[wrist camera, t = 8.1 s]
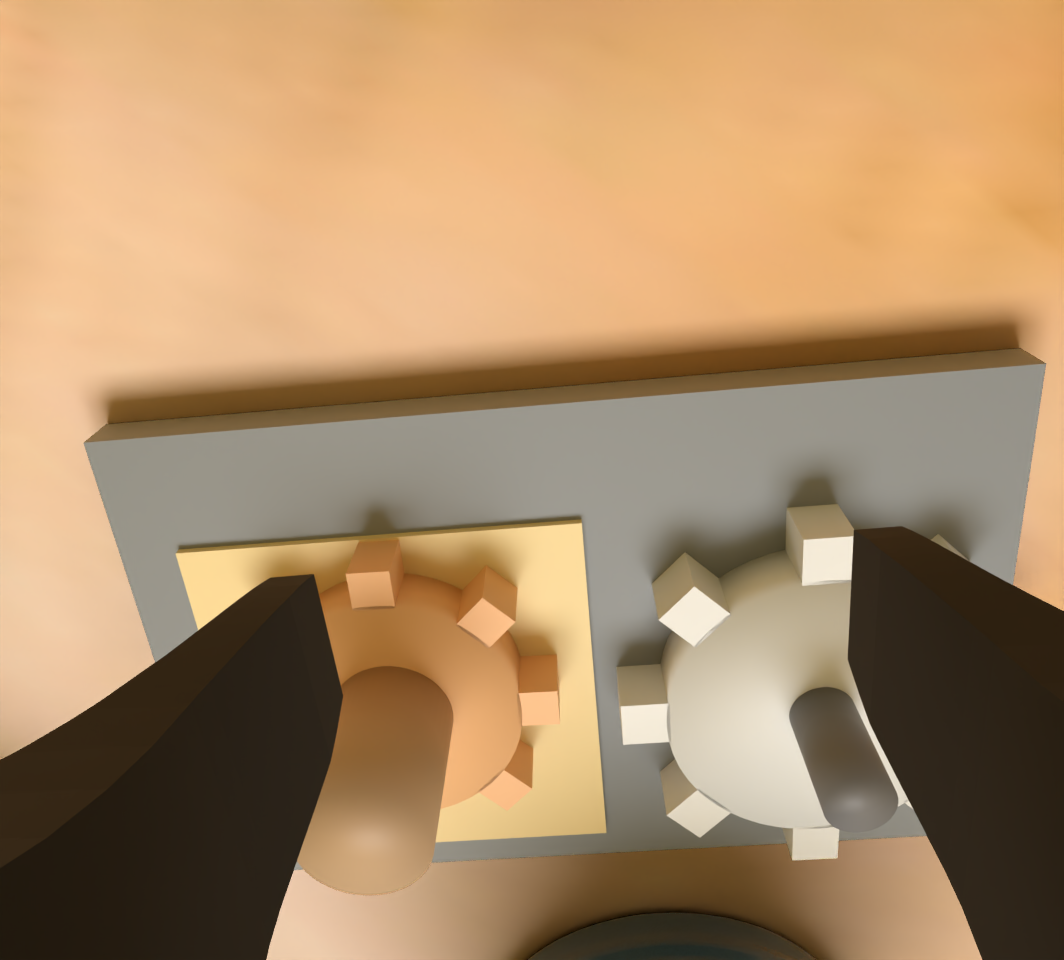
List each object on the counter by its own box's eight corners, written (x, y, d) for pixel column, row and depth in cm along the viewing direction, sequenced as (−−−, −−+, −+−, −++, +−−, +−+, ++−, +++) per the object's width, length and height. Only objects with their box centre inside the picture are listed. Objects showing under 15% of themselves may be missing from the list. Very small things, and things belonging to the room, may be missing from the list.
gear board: (1020, 347, 21) (1178, 442, 16) (958, 801, 27) (1058, 982, 21) (106, 424, 22) (-33, 535, 17) (236, 842, 28) (164, 1022, 23)
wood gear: (547, 531, 22) (546, 670, 17) (567, 790, 25) (572, 971, 20) (213, 550, 22) (114, 693, 17) (278, 803, 25) (211, 983, 20)
